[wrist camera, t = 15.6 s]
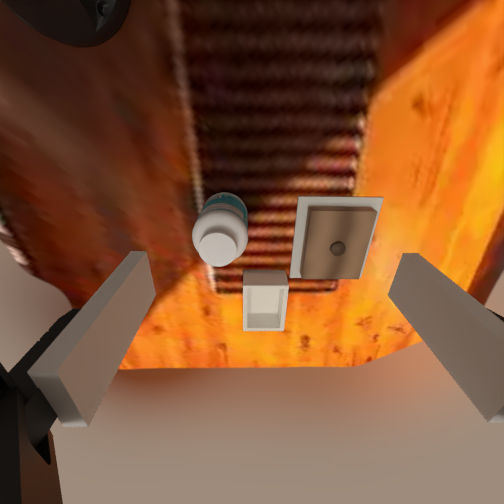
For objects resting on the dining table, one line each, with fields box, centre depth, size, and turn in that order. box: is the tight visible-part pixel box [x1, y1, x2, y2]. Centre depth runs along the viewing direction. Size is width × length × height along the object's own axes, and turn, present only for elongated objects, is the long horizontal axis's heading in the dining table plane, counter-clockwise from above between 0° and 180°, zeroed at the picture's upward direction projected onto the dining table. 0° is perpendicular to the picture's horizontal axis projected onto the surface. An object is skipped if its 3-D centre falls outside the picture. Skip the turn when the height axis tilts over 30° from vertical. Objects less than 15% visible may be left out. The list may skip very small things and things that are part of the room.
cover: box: [299, 206, 377, 279], centre depth 42 cm, size 10×13×3 cm
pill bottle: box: [192, 192, 248, 266], centre depth 35 cm, size 8×7×14 cm
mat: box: [289, 196, 383, 278], centre depth 44 cm, size 14×16×1 cm
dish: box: [243, 270, 289, 331], centre depth 47 cm, size 8×11×5 cm
